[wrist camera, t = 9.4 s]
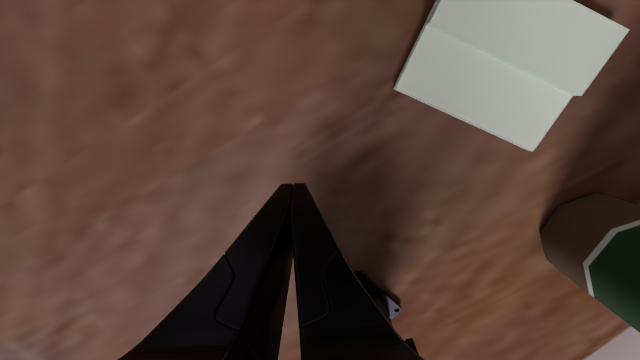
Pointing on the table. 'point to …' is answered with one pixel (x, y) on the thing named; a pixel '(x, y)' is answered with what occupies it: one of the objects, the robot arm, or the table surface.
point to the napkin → (508, 62)
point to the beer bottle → (599, 250)
